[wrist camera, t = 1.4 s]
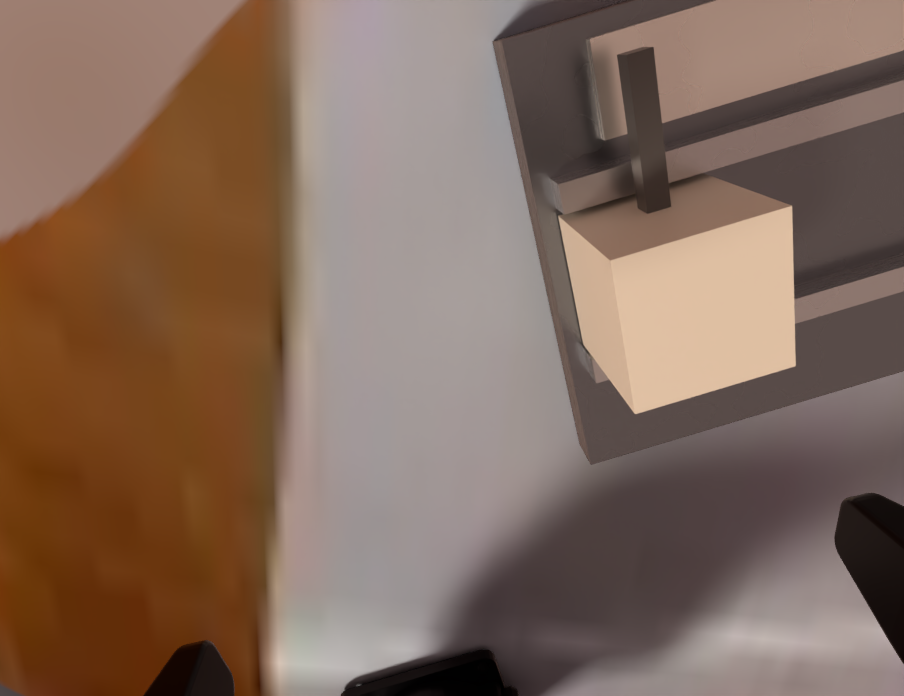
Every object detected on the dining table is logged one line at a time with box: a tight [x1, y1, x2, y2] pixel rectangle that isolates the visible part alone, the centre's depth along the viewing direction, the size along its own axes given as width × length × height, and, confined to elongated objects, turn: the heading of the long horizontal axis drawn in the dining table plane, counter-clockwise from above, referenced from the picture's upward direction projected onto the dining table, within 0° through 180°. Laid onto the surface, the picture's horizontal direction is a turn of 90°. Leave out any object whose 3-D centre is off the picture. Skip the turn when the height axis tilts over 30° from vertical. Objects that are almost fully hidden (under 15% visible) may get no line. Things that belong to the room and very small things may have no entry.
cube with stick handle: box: [558, 47, 796, 414], centre depth 15 cm, size 4×8×4 cm, turn 15°
